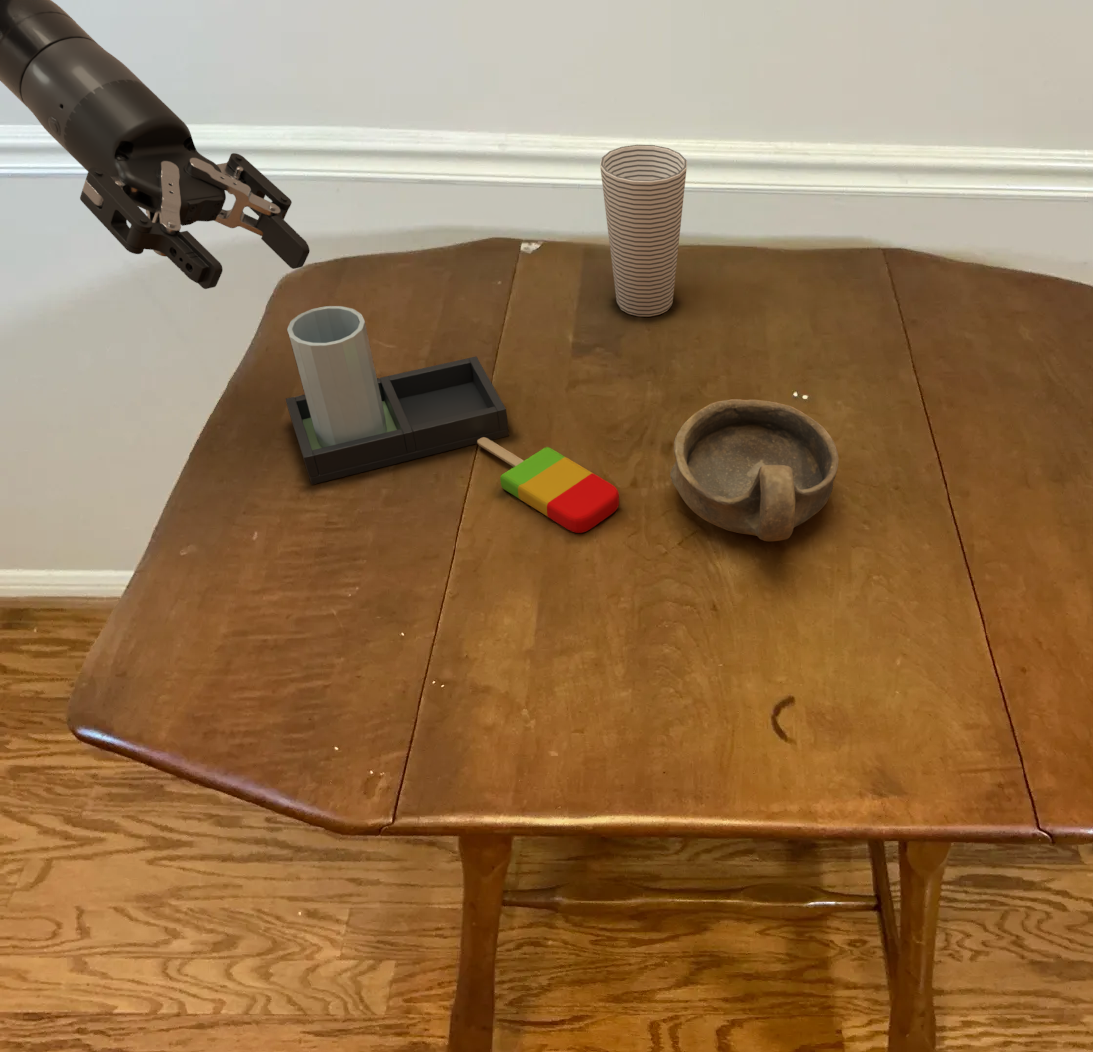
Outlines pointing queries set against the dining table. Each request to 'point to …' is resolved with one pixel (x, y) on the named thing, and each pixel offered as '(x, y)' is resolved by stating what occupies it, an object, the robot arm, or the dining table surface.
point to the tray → (410, 420)
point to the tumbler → (337, 374)
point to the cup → (643, 224)
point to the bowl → (754, 466)
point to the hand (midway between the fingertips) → (261, 269)
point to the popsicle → (557, 487)
